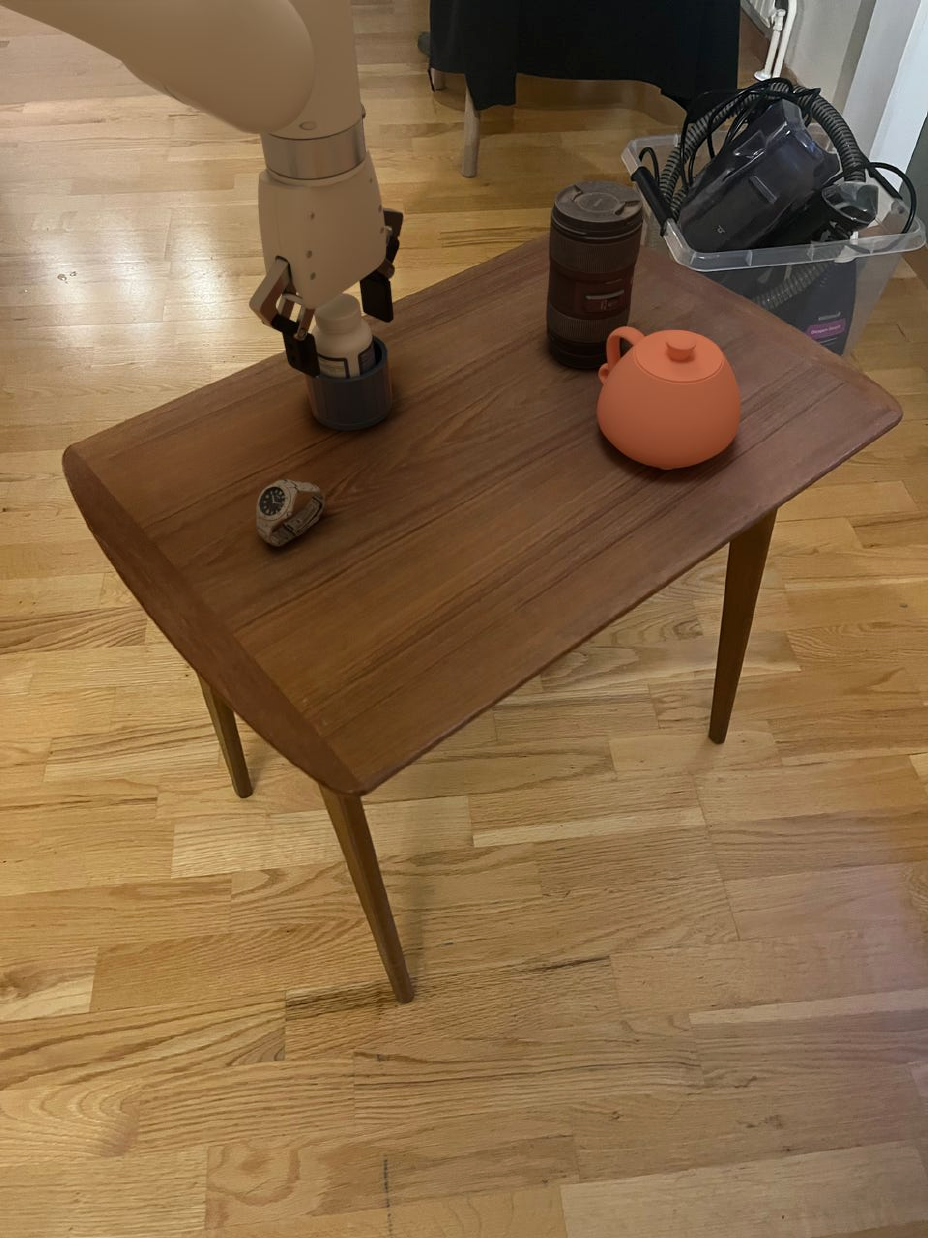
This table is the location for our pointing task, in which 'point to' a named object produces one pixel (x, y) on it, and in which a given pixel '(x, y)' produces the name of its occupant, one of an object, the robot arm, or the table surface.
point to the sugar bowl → (667, 398)
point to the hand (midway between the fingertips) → (342, 342)
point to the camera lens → (591, 268)
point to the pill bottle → (343, 338)
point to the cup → (353, 395)
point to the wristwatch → (286, 510)
